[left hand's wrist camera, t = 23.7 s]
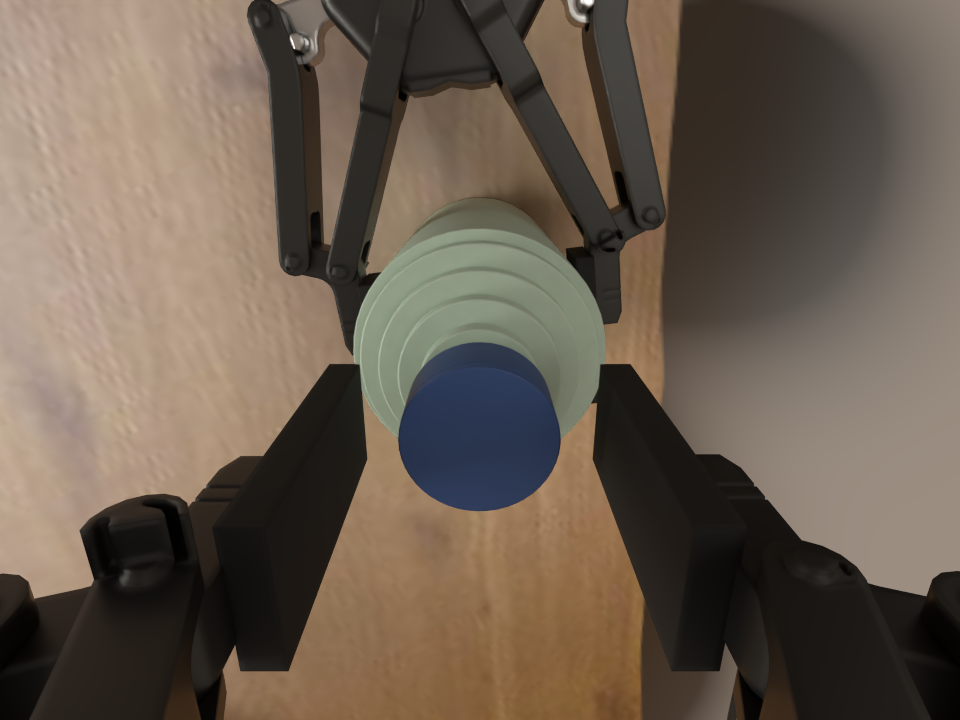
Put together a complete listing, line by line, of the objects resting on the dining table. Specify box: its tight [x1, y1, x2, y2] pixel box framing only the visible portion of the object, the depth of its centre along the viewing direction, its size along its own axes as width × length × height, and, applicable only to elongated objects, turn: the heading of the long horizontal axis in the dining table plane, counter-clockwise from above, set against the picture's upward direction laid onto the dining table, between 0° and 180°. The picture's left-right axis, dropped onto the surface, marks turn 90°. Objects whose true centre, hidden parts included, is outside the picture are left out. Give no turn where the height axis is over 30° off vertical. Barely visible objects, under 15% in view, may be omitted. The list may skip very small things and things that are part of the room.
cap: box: [398, 342, 561, 511], centre depth 14 cm, size 4×4×2 cm
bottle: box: [353, 198, 606, 438], centre depth 22 cm, size 8×8×18 cm
